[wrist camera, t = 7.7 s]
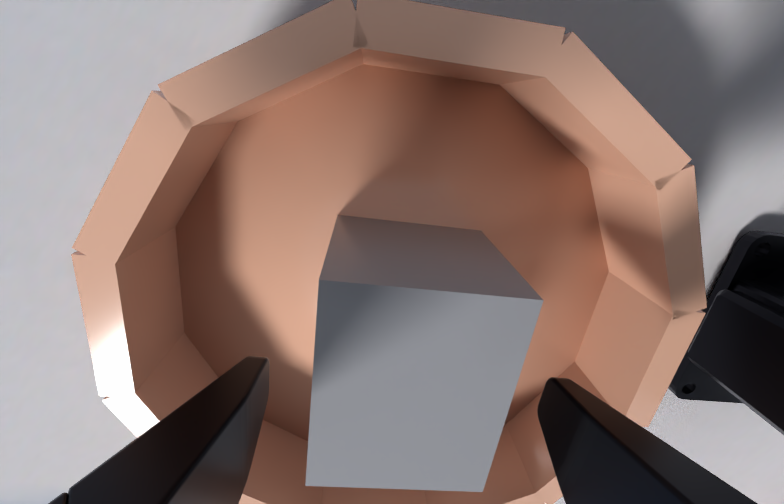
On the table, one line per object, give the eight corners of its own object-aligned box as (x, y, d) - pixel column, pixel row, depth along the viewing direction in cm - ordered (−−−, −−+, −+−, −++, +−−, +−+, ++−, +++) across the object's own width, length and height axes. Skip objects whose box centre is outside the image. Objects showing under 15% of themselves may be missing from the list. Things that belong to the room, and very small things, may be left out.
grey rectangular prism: (480, 230, 10) (543, 300, 7) (447, 373, 12) (482, 492, 8) (337, 214, 10) (319, 279, 6) (325, 365, 12) (305, 486, 8)
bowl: (679, 83, 10) (827, 73, 7) (540, 453, 15) (587, 547, 12) (142, -4, 9) (7, -70, 5) (184, 436, 14) (127, 539, 10)
